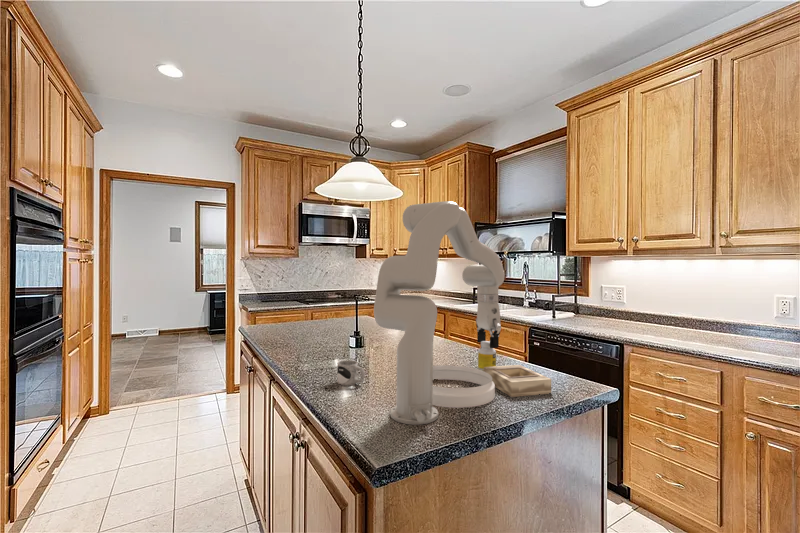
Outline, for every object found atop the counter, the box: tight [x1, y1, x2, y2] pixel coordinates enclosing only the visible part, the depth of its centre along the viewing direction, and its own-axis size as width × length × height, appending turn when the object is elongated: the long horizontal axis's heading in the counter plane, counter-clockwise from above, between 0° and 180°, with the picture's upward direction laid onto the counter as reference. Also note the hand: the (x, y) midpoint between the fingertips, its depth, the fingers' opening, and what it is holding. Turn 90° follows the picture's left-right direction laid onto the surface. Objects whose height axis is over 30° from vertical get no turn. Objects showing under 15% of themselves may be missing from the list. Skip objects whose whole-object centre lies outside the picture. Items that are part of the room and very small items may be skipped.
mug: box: [336, 360, 365, 386], centre depth 130 cm, size 10×7×7 cm, turn 61°
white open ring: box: [432, 364, 496, 409], centre depth 123 cm, size 27×27×6 cm
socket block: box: [484, 364, 552, 398], centre depth 129 cm, size 18×14×5 cm
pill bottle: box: [477, 340, 497, 371], centre depth 144 cm, size 6×6×12 cm
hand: (487, 344), depth 144 cm, fingers open, 9 cm apart
